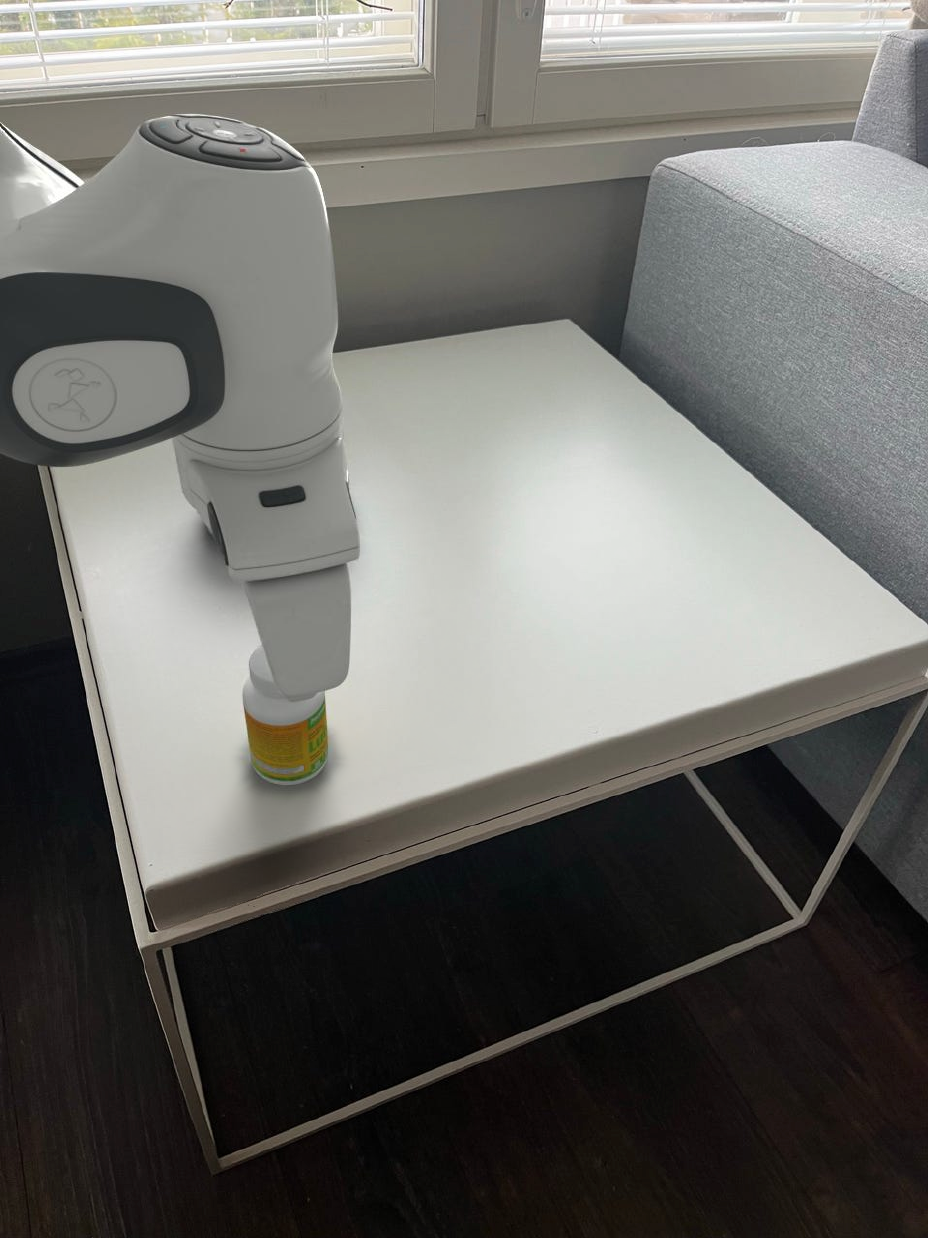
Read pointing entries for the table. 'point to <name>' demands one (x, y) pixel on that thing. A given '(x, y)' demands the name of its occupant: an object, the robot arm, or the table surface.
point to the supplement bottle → (283, 728)
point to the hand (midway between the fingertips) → (283, 639)
